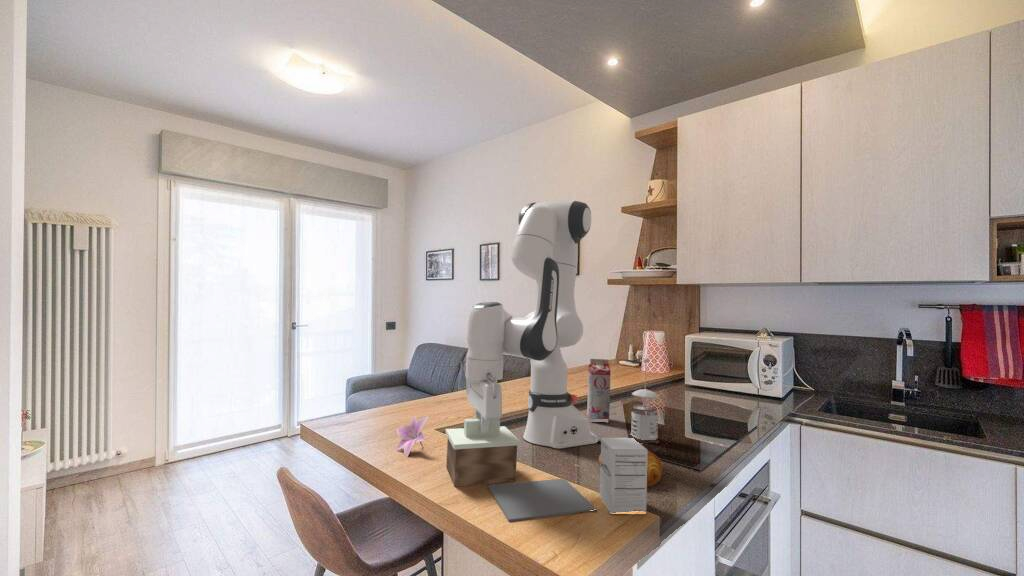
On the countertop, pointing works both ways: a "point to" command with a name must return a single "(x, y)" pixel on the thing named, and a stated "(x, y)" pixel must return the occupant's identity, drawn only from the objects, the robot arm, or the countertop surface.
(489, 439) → the lid
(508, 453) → the box
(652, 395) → the french press
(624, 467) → the supplement box
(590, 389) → the juice carton
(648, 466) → the croissant
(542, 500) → the mat
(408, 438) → the lily
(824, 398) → the countertop surface
